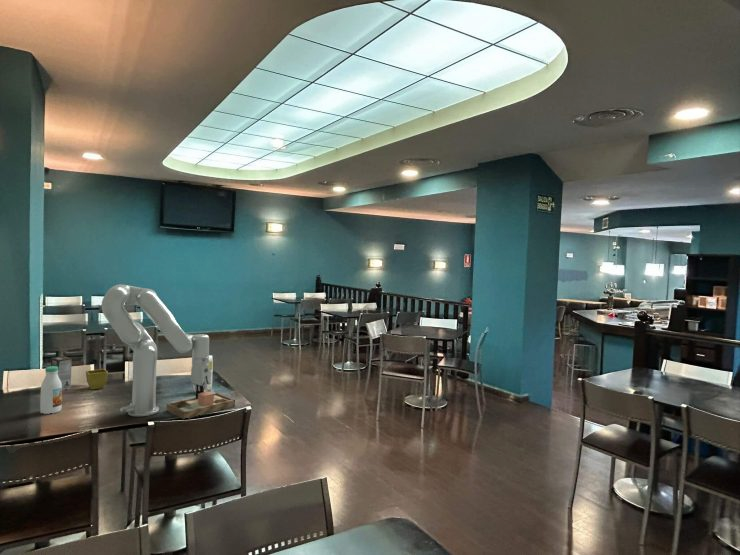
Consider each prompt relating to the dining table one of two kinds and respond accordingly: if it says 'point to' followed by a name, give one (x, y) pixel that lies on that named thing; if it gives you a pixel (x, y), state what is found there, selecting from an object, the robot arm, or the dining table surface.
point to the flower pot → (96, 378)
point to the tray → (199, 406)
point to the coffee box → (63, 370)
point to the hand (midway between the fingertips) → (199, 398)
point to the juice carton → (210, 375)
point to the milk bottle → (51, 392)
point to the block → (206, 398)
